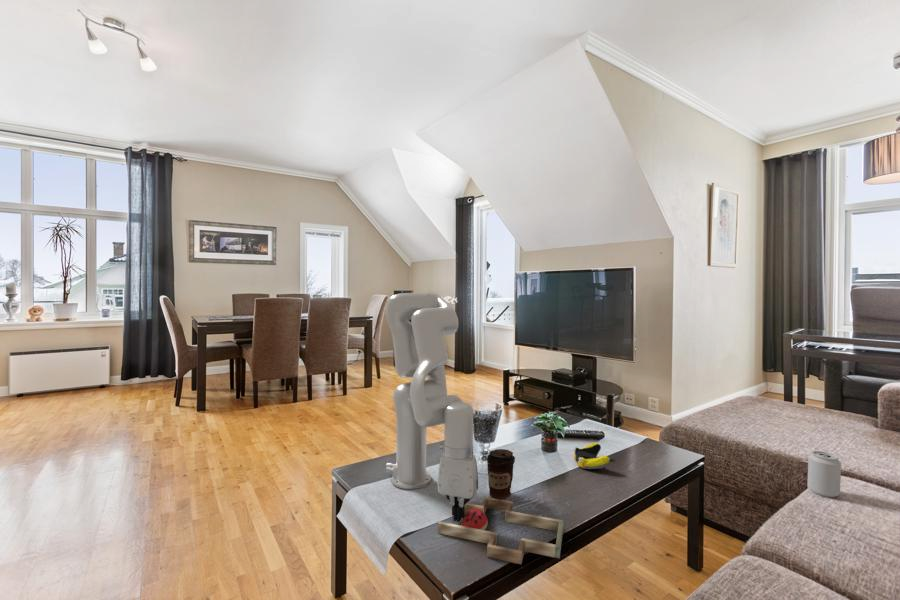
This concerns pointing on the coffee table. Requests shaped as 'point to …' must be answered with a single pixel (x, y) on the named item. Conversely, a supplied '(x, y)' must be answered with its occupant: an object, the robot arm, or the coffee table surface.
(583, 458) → the banana bunch
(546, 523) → the trap channel
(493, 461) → the coffee cup
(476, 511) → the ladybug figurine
